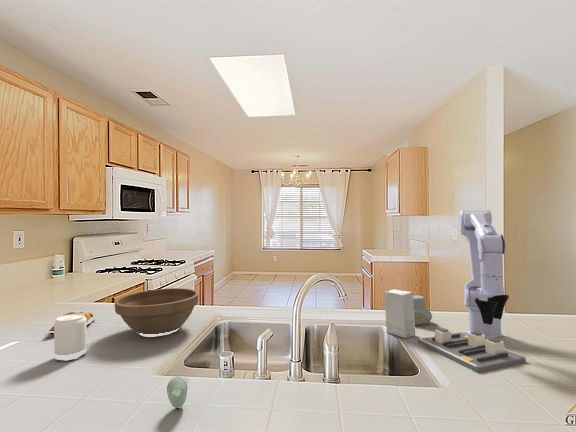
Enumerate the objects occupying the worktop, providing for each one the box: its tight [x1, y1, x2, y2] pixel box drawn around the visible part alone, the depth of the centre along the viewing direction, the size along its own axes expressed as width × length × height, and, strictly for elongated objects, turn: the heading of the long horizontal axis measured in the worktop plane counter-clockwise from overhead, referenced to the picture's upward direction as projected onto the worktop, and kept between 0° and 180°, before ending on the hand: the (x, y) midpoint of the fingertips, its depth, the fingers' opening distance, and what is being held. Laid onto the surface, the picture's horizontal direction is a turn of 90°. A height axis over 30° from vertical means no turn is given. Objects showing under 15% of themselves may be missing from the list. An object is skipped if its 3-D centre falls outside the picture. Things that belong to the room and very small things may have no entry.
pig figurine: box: [166, 375, 189, 409], centre depth 72 cm, size 8×4×7 cm, turn 2°
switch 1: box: [434, 327, 452, 344], centre depth 104 cm, size 4×3×4 cm
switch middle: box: [468, 331, 486, 347], centre depth 101 cm, size 4×3×4 cm
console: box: [417, 331, 527, 373], centre depth 100 cm, size 18×22×2 cm
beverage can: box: [53, 314, 88, 355], centre depth 100 cm, size 8×8×12 cm
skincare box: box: [383, 288, 416, 339], centre depth 116 cm, size 8×6×15 cm
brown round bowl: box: [114, 287, 199, 334], centre depth 122 cm, size 28×28×13 cm
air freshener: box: [413, 294, 433, 326], centre depth 128 cm, size 11×8×10 cm
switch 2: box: [485, 338, 505, 355], centre depth 95 cm, size 4×3×4 cm
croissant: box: [49, 311, 93, 331], centre depth 126 cm, size 21×10×8 cm, turn 172°
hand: (492, 321), depth 98 cm, fingers open, 7 cm apart
